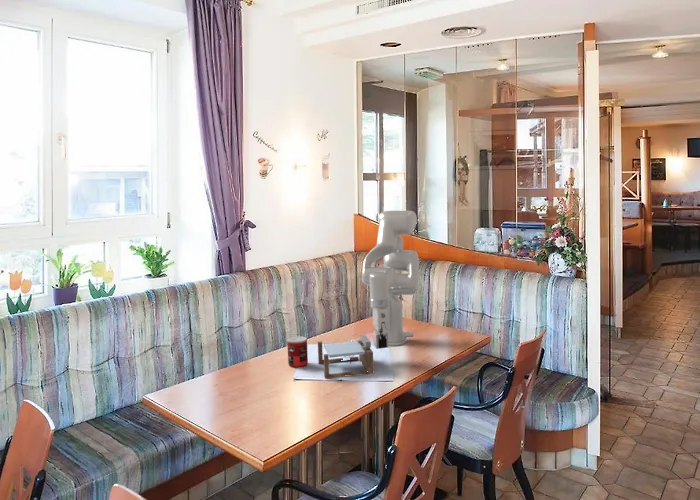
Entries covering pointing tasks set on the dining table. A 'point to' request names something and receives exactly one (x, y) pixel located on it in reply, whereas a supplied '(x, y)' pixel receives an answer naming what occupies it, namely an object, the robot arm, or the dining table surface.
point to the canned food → (297, 351)
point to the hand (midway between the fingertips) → (381, 344)
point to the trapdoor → (348, 347)
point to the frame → (364, 358)
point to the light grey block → (376, 339)
